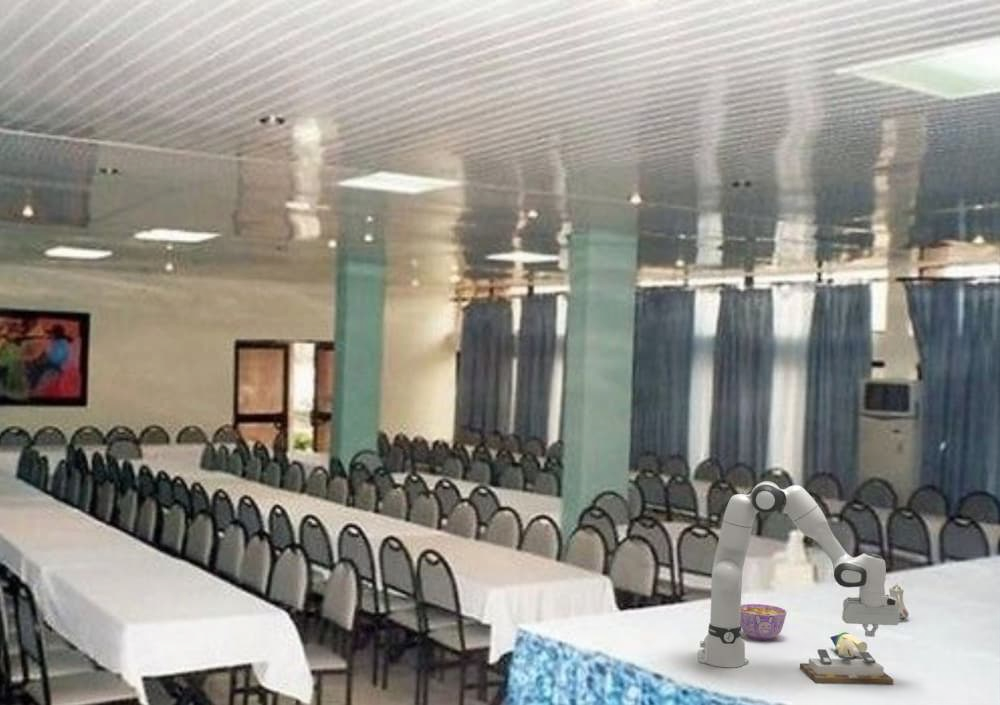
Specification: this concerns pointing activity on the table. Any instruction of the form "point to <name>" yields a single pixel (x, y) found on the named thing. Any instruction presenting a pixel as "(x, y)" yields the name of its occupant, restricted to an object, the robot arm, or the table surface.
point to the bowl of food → (762, 620)
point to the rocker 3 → (867, 657)
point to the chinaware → (899, 601)
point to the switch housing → (846, 667)
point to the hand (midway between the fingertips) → (869, 636)
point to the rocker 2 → (846, 657)
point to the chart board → (845, 677)
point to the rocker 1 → (824, 656)
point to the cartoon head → (848, 644)
